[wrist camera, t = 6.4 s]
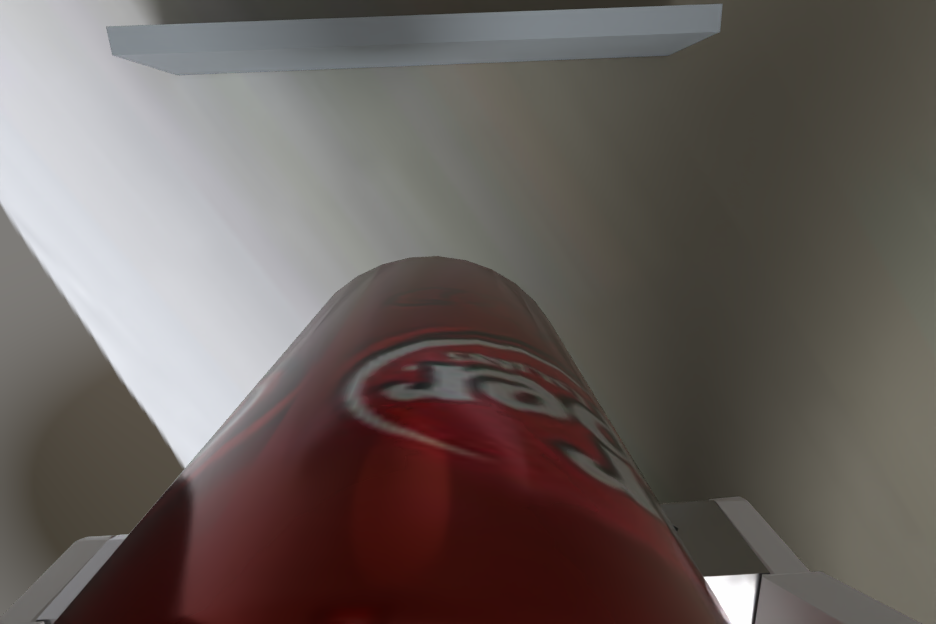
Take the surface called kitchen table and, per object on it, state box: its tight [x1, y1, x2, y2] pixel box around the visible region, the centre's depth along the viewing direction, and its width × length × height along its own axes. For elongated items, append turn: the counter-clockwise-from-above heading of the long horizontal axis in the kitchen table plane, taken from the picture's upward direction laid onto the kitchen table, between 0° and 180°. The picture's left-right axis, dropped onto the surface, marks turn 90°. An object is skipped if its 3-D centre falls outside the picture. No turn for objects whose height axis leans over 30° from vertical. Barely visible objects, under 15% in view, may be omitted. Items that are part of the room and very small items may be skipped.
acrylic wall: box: [106, 4, 722, 75], centre depth 23 cm, size 24×1×5 cm, turn 92°
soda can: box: [53, 256, 732, 624], centre depth 9 cm, size 7×7×12 cm
